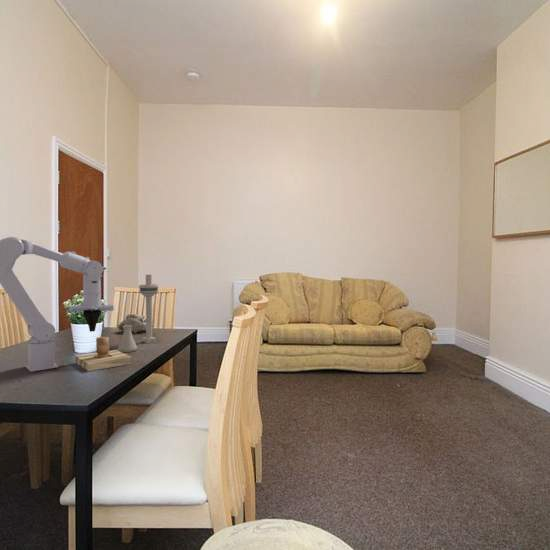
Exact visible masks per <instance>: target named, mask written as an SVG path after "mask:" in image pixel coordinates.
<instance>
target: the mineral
mask: <svg viewBox="0 0 550 550" xmlns="http://www.w3.org/2000/svg"><path fill="white" fill-rule="evenodd" d="M126 325H131V326H132V327H131V332H133V333H138V332H146V316H143V315H141V314H136V313H129V314H127V315H126V316H125V319H123V320H122V321H121V322H120V323H119V324H118V325H117V328H118V330H119V331H122V332H124V328H123V326H126ZM153 327H154V323H153V321H152V328H153Z"/></svg>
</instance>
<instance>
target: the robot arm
mask: <svg viewBox="0 0 550 550" xmlns="http://www.w3.org/2000/svg"><path fill="white" fill-rule="evenodd" d="M23 255H35V256H38V257H42V258H45V259H49V260H51V261H55V262H58V263H59V265H60V267H61V268H64V269H67V270H69V271H73V272H76V273H80V274H82V275H83V277H82V278H83V279H82V293H83V294H82V296H83V297H82V298H83V299H82V301H83V303H82V304H83V305H70V306H68V307H69V312H71V313H73V312H82V315H83V317H84V319H85V320H86V323H87V325H88V331H89V332H91V333H92V332H95V331H96V327H97V323H98V320H99V318H100V315H102V314H101V313H102V312H108V311H109V312H110V311H111V312H113V311H115V305H114V304H112V305H111V304H102V298H101V297H102V290H101V289H102V287H101V285H102V280H101V275H102V273H103V272H104V268H103V265H102V264H101V262H100V261H98V260H91V259H90V257H88V256H85V257H84V256H82V255H79V254H77V252H75V251H74V250H73V251H65V252H59V251H56V250H55V249H52V248H49V247H47V246H44V245H43V244H39V243H36V242H33V241H31V240H26V239H20V238H19V237H16V236H8V237H5V238H2V239H0V285H1V287H2V289H3V290H4V291H5V293H6V294H7V296H8V297H9V299H10V301H11V302H12V303H13V304H14V306H15V308H16V309H17V311H18V312H19V314H20V315H21V317H22V319H23V321H24V323H25V324H26V326H27V332H28V334H29V336H30V338H29V339H28V347H27V361H28V362H27V364H25V365H24V367H25V368H26V369H27V370H28V371H29V372H30V373H31V372H33V373H34V372H38V371H45V370H51V369H56V368H59V365H58V364H56V363H55V338H54V336H56V335H55V334H56V328H55V326H54V325H53V324H52V323H50V322H49V321H47V320H46V318H45V317H44V316H43V315H42V313H41V312H40V311H39V309H38V308H37V306H36V305H35V303H34V302H33V300H32V299H31V297H30V295H29V294H28V292H27V291H26V289H25V287H24V286H23V285H22V283H21V281H20V280H19V279H18V277H17V276H16V274H15V272H14V270H13V268H14V266H15V263H16V261H17V260H18V259H19V258H20V257H21V256H23Z"/></svg>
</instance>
